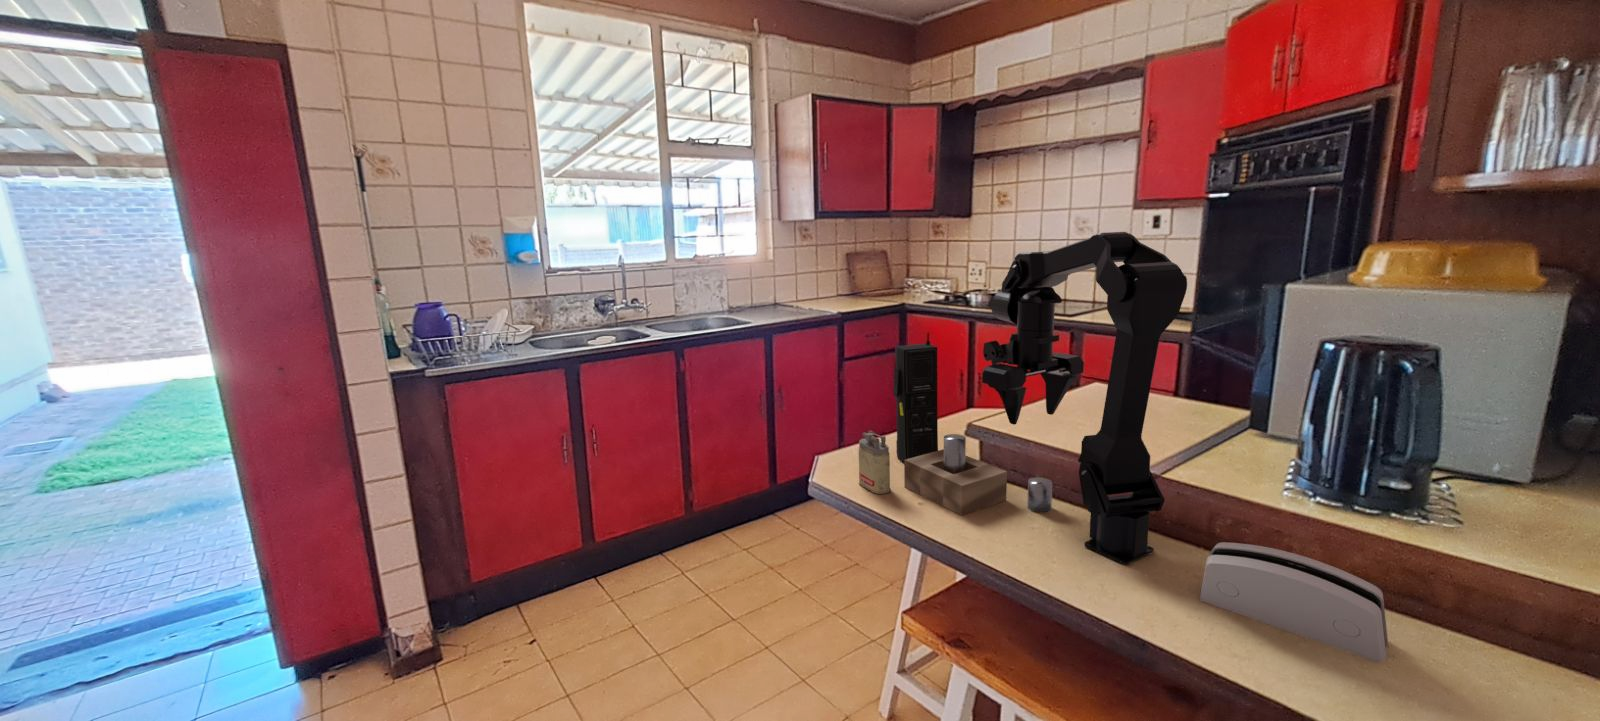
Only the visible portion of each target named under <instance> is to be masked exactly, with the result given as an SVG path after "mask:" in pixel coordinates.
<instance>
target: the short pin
mask: <svg viewBox="0 0 1600 721" xmlns="http://www.w3.org/2000/svg"><path fill="white" fill-rule="evenodd" d="M1027 480H1028V481H1027V482H1028V483H1027V503H1026V504H1027V505H1026V506H1027V507H1026V508H1027V509H1028V510H1029V511H1031V512H1034V513H1039V514H1047V513H1050V512H1051V511H1052V505H1053V504H1052V503H1053V502H1052V501H1053V481H1052V480H1050V479H1048V478H1046V477H1040V476H1039V477H1038V476H1037V477H1030V478H1029V479H1027Z"/></svg>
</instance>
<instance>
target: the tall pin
mask: <svg viewBox="0 0 1600 721" xmlns="http://www.w3.org/2000/svg"><path fill="white" fill-rule="evenodd" d="M943 449H944V459H943V470H945V471H947V472H949V473H951V474H956V473H960V472H963V471H965V456H967V455H966V453H967V451H966V450H967V437H966V436H964V435H962V434H957V433H956V434H955V433H950V434H945V435H944V436H943Z"/></svg>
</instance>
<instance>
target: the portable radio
mask: <svg viewBox="0 0 1600 721" xmlns="http://www.w3.org/2000/svg"><path fill="white" fill-rule="evenodd" d="M894 352H895V353H894V354H895V356H894V358H895V363H896V364H895V365H896V366H895V367H894V374H893V375H894V376H893V378H894V379H893V396H894V397H896V457H897V459H899V461H901V462H902V463H904V460H906V459H909V458H913V457H917V456H920V455H924V454H928V453H932V452H935V451H939V437H938V430H939V429H938V426H939V425H938V347H937V346H936V345H934V344H931V340H930V331H926V341H925V343H916V344H906V345H896V346H895V348H894Z"/></svg>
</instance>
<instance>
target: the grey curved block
mask: <svg viewBox="0 0 1600 721" xmlns="http://www.w3.org/2000/svg"><path fill="white" fill-rule="evenodd" d="M1202 578H1203V580H1202V585H1201V590H1200V595H1199V601H1200V602H1205V603H1207V604H1210V605H1213V606H1216V607H1218V608H1221V609H1224V610H1227V611H1229V612H1233V613H1235V614H1239V615H1240V616H1245V617H1247V618H1250V619H1251V620H1256V621H1259V622H1261V623H1264V624H1266V625H1270V626H1272V627H1275V628H1276V627H1277V628H1279V629H1281V630H1284V631H1287V632H1290V633H1292V634H1296V635H1299V636H1302V637H1304V638H1307V639H1311V640H1313V641H1316V642H1318V643H1322V644H1325V645H1328V646H1329V647H1330V646H1331V647H1333V648H1336V649H1339V650H1342V651H1344V652H1348V653H1349V654H1350V653H1351V654H1352V655H1356V656H1359V657H1362V658H1365V659H1368V660H1370V661H1373V662H1376V663H1379V664H1382V663H1384V661H1385V660H1386V658H1387V650H1386V648H1389V639H1388V629H1387V621H1386V619H1387V618H1386V612H1385V601H1384V594H1383V591H1382V590H1381V589H1380V588H1379V587H1378V586H1376V585H1375V584H1373V583H1370V582H1368V581H1366V580H1365V579H1362V578H1360V577H1358V576H1357V575H1354V574H1352V573H1349V572H1347V571H1345V570H1342V569H1340V568H1337V567H1336V566H1333V565H1330V564H1327V563H1325V562H1322V561H1319V560H1316V559H1313V558H1310V557H1307V556H1304V555H1300V554H1297V553H1294V552H1289V551H1286V550H1281V549H1278V548H1273V547H1267V546H1262V545H1256V544H1250V543H1239V542H1225V541H1224V542H1223V541H1222V542H1219V543H1216V544H1215V546H1214V547H1213V548H1211V550H1210V554H1209V556H1208V557H1207V558H1206V563H1205V569H1204V575H1203V577H1202Z"/></svg>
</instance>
